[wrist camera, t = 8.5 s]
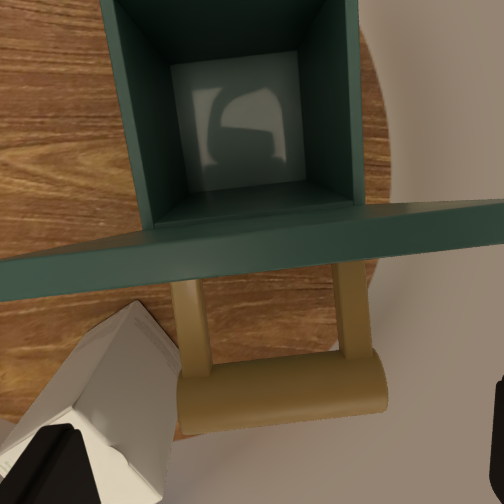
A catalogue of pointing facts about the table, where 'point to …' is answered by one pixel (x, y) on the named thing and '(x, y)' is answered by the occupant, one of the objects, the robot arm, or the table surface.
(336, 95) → the bin
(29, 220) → the table surface
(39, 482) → the robot arm
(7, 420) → the table surface
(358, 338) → the lid
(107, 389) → the cosmetic box
